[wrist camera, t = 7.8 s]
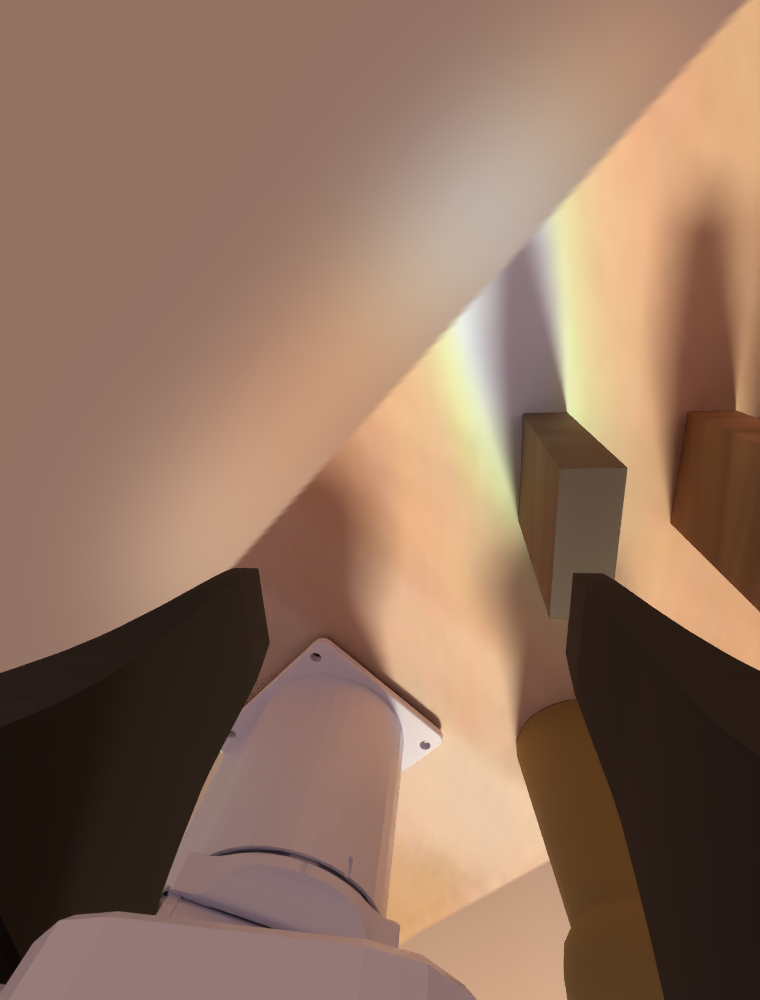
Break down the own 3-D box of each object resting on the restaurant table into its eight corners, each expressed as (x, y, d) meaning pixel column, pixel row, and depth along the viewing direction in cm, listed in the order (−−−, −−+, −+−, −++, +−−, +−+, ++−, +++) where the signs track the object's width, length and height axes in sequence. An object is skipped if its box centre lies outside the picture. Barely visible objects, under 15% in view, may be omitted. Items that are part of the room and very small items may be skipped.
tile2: (670, 523, 20) (775, 627, 14) (687, 411, 19) (815, 469, 12) (714, 523, 20) (842, 629, 13) (735, 410, 18) (892, 468, 12)
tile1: (518, 521, 21) (549, 618, 14) (522, 413, 19) (560, 468, 13) (559, 520, 21) (609, 619, 14) (566, 412, 19) (627, 467, 13)
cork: (492, 729, 25) (523, 1025, 15) (610, 680, 23) (740, 978, 13) (554, 811, 26) (622, 1134, 16) (670, 770, 24) (830, 1106, 14)
